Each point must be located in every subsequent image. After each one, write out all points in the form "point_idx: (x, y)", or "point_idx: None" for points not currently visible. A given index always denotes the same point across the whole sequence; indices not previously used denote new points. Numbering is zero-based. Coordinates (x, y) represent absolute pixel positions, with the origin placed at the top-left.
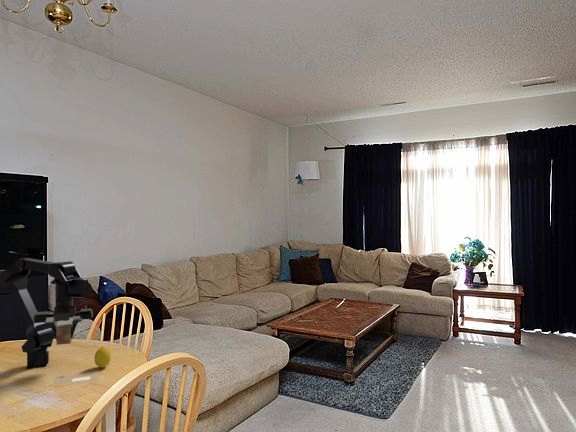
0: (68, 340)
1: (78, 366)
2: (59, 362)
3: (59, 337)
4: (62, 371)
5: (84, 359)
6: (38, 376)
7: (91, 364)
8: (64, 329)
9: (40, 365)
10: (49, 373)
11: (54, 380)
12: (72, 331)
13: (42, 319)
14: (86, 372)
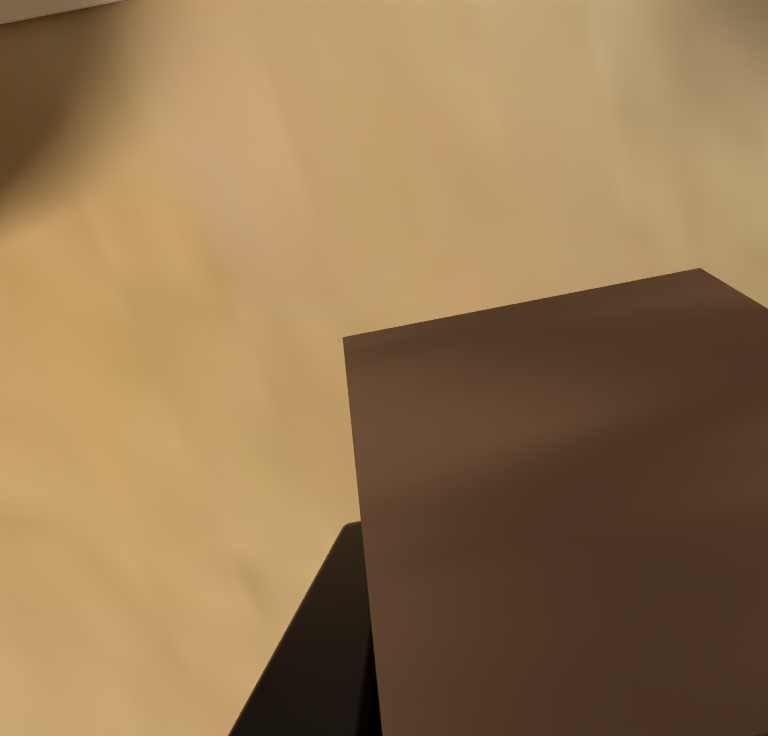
0: (403, 365)
1: (273, 343)
2: None
3: (730, 363)
4: (434, 181)
5: (284, 569)
6: (718, 30)
7: (120, 391)
8: (704, 620)
9: None
10: (592, 131)
11: None
12: (321, 671)
13: None
14: (22, 9)
